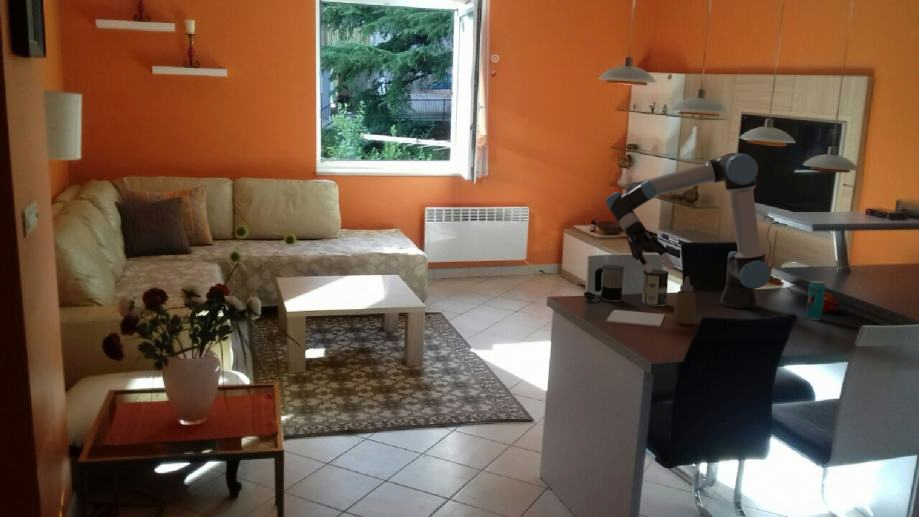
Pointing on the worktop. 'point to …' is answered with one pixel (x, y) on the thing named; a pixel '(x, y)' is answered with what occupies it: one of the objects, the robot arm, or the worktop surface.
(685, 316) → the squeeze bottle
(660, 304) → the coffee can
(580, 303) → the worktop surface
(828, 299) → the dragon fruit
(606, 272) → the milk frother
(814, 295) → the beverage can
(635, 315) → the mat
